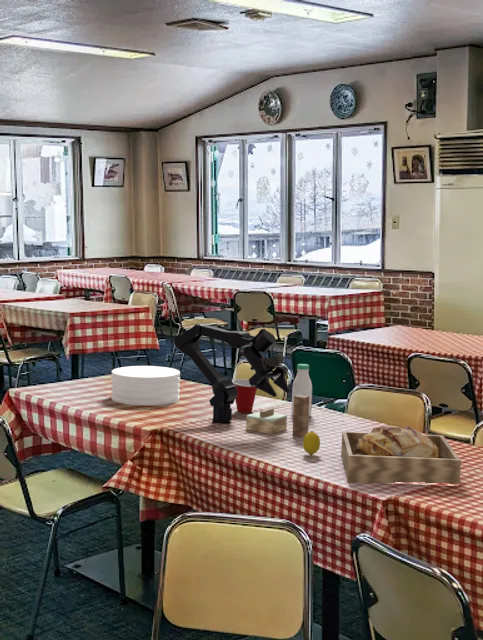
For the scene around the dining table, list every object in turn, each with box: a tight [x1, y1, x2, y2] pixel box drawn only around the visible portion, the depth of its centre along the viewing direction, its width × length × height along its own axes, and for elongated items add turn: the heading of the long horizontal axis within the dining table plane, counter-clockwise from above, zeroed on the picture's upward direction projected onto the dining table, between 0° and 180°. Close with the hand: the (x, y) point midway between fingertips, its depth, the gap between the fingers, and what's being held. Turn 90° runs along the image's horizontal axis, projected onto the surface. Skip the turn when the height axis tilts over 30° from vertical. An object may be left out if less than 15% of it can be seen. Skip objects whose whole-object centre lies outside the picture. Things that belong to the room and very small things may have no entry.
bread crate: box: [340, 430, 462, 485], centre depth 284 cm, size 32×30×8 cm
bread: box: [355, 425, 439, 458], centre depth 284 cm, size 25×27×15 cm
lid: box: [246, 407, 288, 422], centre depth 333 cm, size 11×10×3 cm
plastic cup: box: [232, 378, 258, 414], centre depth 362 cm, size 11×11×12 cm
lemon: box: [302, 430, 321, 456], centre depth 299 cm, size 6×6×8 cm
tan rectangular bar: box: [292, 395, 310, 438], centre depth 326 cm, size 4×4×14 cm
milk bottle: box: [291, 363, 313, 417], centre depth 358 cm, size 8×8×20 cm
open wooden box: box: [245, 417, 288, 435], centre depth 334 cm, size 11×10×4 cm
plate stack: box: [111, 365, 181, 406], centre depth 382 cm, size 28×28×12 cm
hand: (282, 394), depth 329 cm, fingers open, 9 cm apart
